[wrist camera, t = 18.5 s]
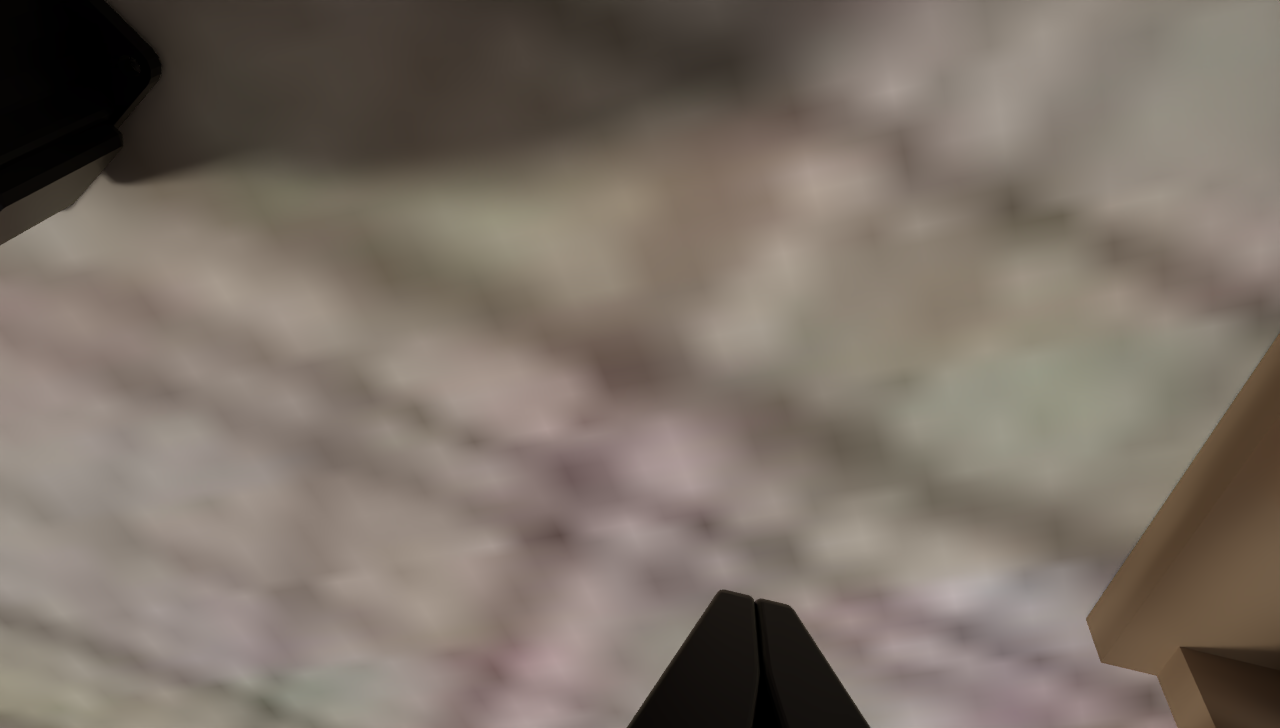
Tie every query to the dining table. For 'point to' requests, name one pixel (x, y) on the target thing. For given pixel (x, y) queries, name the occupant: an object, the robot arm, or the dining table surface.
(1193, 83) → the dining table surface
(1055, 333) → the dining table surface
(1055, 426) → the dining table surface
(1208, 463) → the key console
